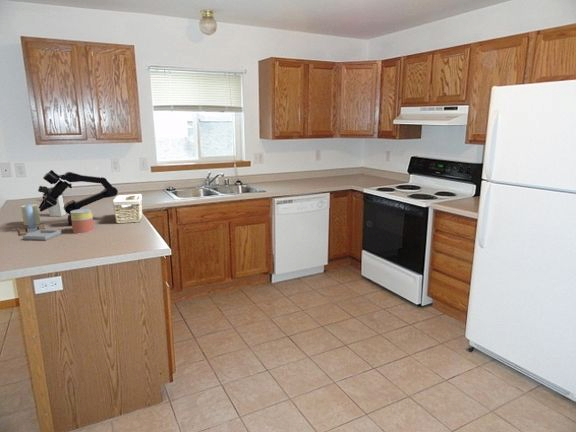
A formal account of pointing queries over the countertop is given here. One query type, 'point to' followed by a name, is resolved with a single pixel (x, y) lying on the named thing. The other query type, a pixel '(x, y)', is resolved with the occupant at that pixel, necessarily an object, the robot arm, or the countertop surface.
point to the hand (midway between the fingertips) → (39, 209)
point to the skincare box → (57, 208)
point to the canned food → (82, 220)
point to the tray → (42, 235)
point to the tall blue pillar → (30, 219)
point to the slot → (23, 230)
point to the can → (35, 212)
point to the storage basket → (128, 208)
